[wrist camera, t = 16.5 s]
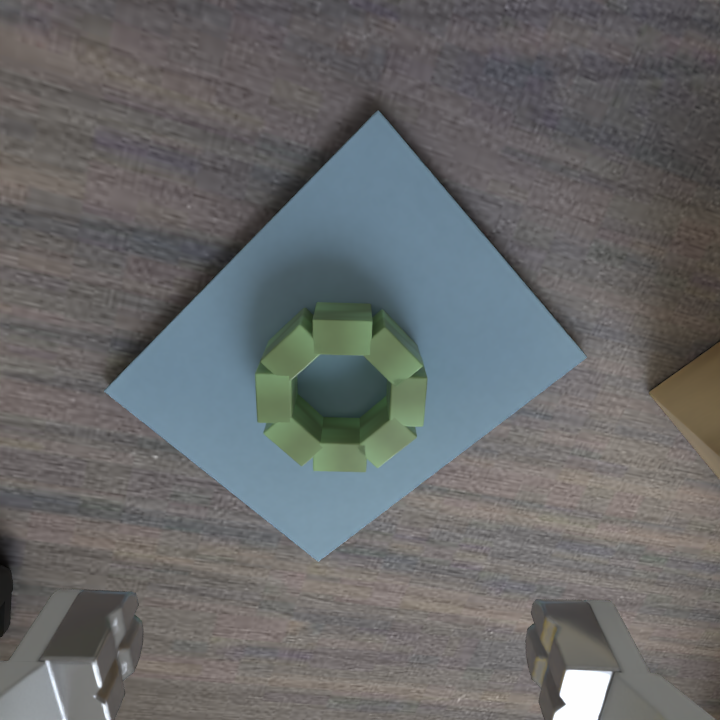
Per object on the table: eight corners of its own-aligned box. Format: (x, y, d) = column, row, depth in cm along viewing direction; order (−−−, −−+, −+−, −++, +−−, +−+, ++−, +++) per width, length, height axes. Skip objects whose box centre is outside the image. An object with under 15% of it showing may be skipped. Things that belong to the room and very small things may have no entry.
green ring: (344, 268, 21) (343, 283, 19) (451, 379, 23) (460, 403, 21) (232, 374, 23) (220, 398, 21) (340, 470, 25) (339, 499, 23)
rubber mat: (377, 109, 20) (378, 109, 19) (583, 353, 23) (587, 357, 23) (107, 386, 24) (103, 391, 23) (318, 555, 27) (318, 562, 27)
